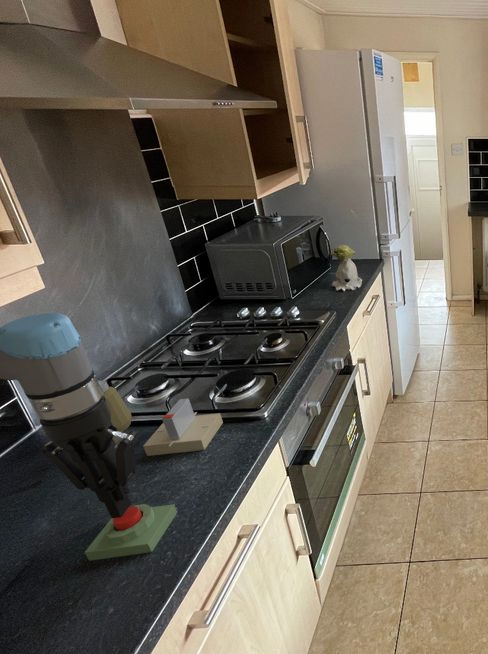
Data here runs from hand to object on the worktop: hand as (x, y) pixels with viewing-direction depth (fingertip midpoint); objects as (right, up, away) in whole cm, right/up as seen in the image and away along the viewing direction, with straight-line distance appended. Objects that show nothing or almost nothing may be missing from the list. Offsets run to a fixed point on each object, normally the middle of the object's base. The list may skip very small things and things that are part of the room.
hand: (121, 510), depth 75 cm
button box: (0, -6, +2) cm, 6 cm away
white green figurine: (-2, +37, +108) cm, 115 cm away
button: (0, -3, +1) cm, 3 cm away
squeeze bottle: (-26, +3, +26) cm, 37 cm away
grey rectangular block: (-7, +6, +24) cm, 25 cm away
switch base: (-7, +3, +25) cm, 26 cm away
